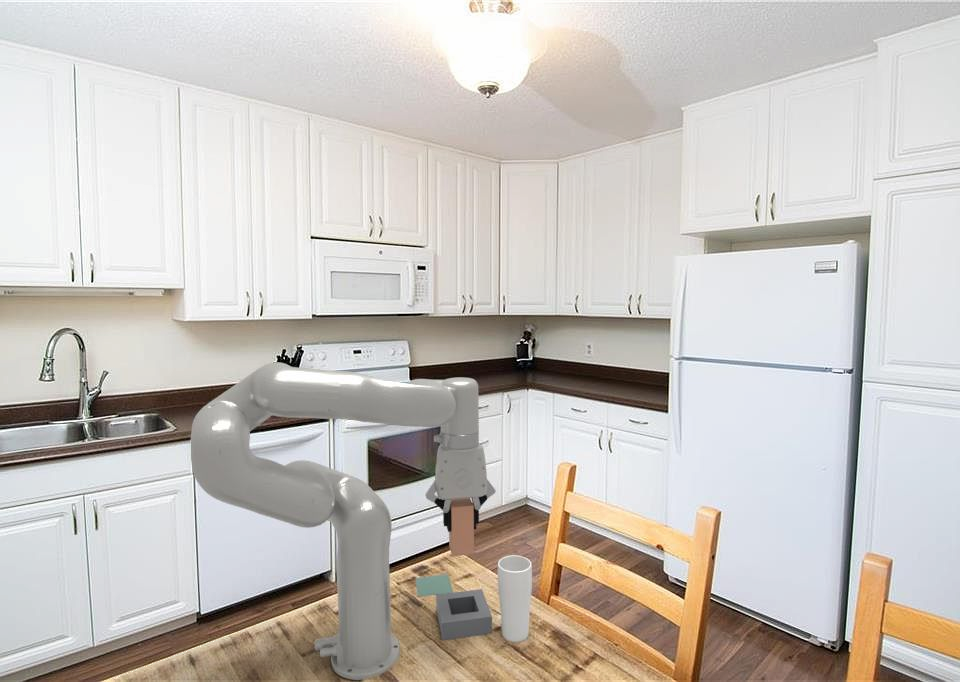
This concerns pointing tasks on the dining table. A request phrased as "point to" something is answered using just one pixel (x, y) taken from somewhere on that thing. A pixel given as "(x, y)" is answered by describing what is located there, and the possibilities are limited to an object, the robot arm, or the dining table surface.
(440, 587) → the mat
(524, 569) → the drinking glass
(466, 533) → the peg
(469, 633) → the pocket block
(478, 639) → the dining table surface
